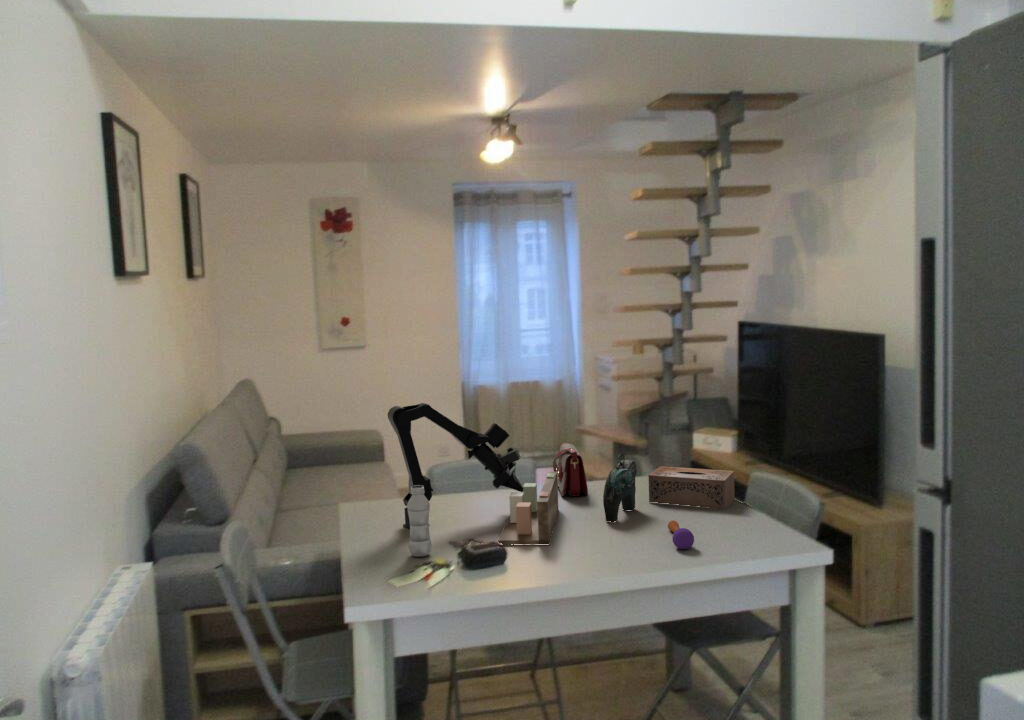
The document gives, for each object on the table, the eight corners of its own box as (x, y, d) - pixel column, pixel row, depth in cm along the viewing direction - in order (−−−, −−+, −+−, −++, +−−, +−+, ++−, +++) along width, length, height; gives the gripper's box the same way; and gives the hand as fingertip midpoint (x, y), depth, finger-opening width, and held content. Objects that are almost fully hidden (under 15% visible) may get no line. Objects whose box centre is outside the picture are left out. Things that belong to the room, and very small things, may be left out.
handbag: (552, 481, 310) (550, 437, 309) (579, 480, 311) (577, 436, 309) (559, 500, 282) (557, 451, 281) (589, 498, 283) (587, 450, 281)
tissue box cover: (649, 503, 274) (648, 475, 273) (661, 493, 286) (660, 466, 286) (725, 510, 262) (724, 480, 261) (734, 499, 275) (734, 471, 274)
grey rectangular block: (510, 522, 250) (509, 496, 250) (512, 518, 255) (511, 492, 254) (523, 522, 250) (522, 496, 249) (524, 518, 254) (523, 492, 254)
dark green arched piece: (624, 506, 270) (623, 448, 269) (642, 508, 267) (641, 449, 265) (600, 522, 253) (598, 460, 252) (619, 524, 250) (617, 461, 248)
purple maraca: (684, 517, 242) (697, 532, 222) (681, 537, 242) (694, 553, 222) (664, 514, 242) (676, 529, 222) (661, 534, 242) (672, 550, 222)
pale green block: (524, 512, 262) (523, 486, 261) (525, 508, 266) (524, 483, 266) (536, 512, 261) (535, 486, 261) (537, 508, 266) (536, 483, 265)
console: (498, 545, 234) (496, 500, 233) (514, 509, 272) (512, 470, 271) (549, 545, 232) (547, 500, 231) (558, 509, 270) (557, 470, 269)
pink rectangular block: (517, 534, 238) (516, 506, 237) (519, 529, 243) (517, 502, 242) (530, 534, 238) (529, 506, 237) (532, 529, 242) (530, 502, 241)
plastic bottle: (420, 550, 233) (417, 483, 231) (437, 554, 228) (433, 485, 227) (404, 556, 228) (400, 487, 226) (420, 561, 223) (417, 490, 222)
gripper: (501, 447, 254) (537, 480, 253) (508, 436, 272) (542, 467, 272) (478, 471, 255) (513, 505, 255) (487, 459, 274) (520, 490, 273)
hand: (523, 491), depth 264 cm, fingers closed, pressing on pale green block
